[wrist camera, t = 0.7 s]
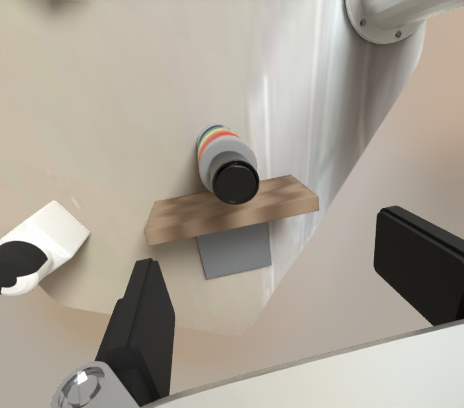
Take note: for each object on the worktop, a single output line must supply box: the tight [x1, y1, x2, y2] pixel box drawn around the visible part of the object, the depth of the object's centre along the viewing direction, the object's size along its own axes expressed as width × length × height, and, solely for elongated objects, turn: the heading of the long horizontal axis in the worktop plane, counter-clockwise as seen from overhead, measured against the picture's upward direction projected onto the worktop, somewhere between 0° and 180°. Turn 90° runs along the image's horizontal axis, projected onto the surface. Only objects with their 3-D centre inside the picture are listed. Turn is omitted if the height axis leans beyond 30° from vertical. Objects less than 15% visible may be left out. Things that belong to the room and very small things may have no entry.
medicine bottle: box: [0, 201, 90, 296], centre depth 34 cm, size 7×7×12 cm
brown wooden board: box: [144, 175, 319, 246], centre depth 37 cm, size 22×2×10 cm, turn 99°
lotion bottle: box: [197, 124, 259, 205], centre depth 29 cm, size 6×6×20 cm
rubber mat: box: [196, 222, 272, 279], centre depth 45 cm, size 12×12×1 cm
